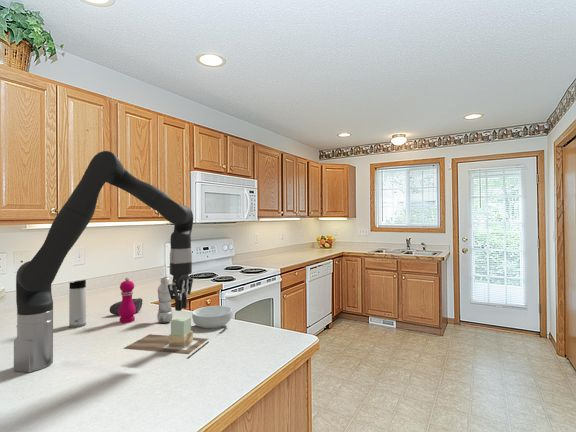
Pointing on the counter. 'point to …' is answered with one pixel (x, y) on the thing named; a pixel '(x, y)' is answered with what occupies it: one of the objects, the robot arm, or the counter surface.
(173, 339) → the maple block
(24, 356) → the robot arm
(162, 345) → the brown flat wooden board
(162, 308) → the plastic bottle
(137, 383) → the counter surface
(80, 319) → the travel mug
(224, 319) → the cereal bowl
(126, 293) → the pepper mill
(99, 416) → the counter surface
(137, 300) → the perforated stone tool
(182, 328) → the sage block
